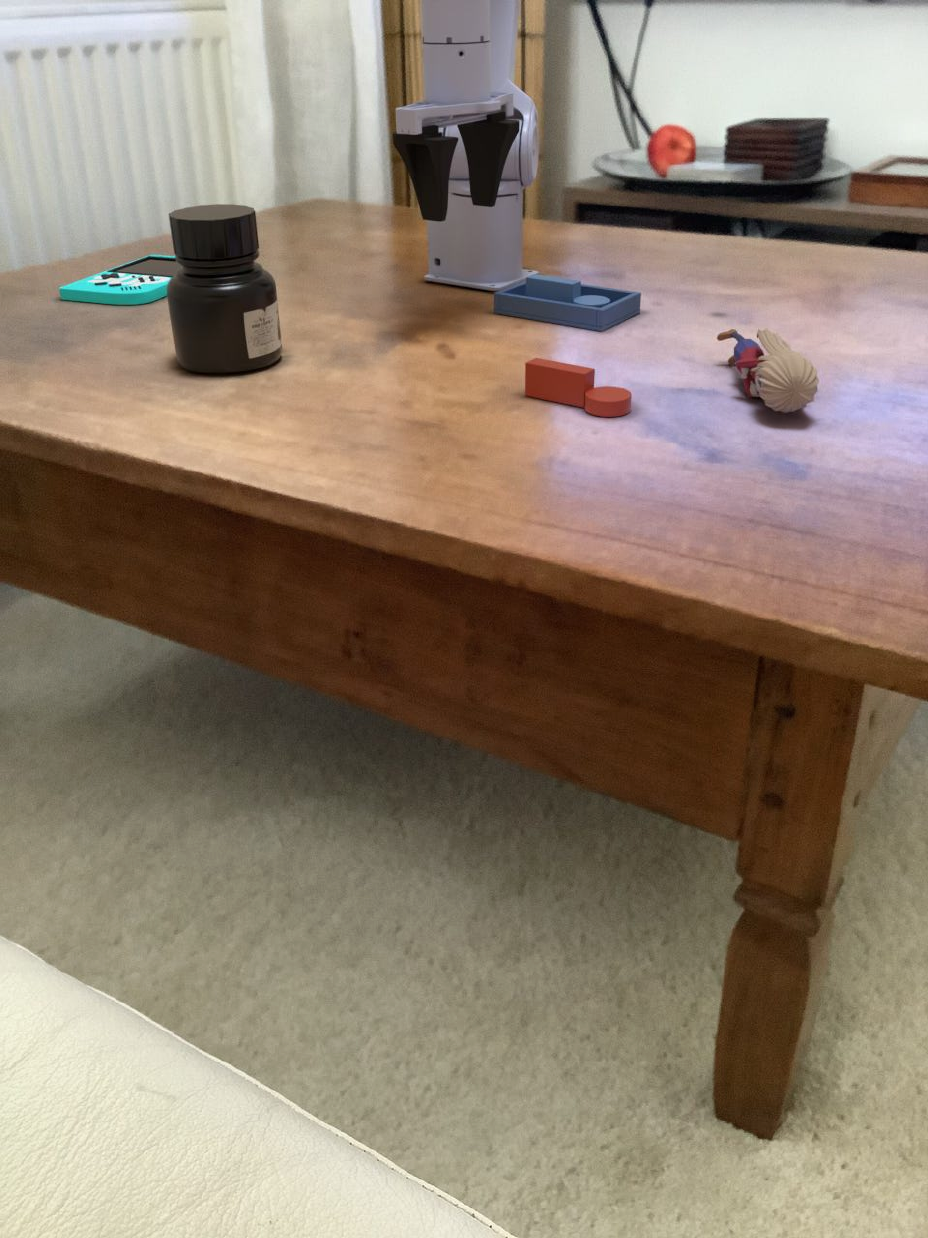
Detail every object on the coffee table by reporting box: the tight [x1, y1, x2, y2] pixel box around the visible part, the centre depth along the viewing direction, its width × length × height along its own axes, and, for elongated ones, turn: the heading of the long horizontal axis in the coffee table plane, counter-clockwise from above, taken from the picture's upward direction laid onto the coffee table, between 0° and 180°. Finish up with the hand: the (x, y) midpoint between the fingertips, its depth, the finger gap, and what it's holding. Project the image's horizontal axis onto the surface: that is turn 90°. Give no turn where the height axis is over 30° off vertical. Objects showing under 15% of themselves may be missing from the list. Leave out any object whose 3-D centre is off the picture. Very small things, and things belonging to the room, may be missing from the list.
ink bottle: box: [166, 203, 283, 374], centre depth 93 cm, size 10×9×12 cm
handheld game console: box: [58, 254, 182, 306], centre depth 119 cm, size 10×16×1 cm, turn 158°
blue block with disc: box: [526, 274, 610, 308], centre depth 105 cm, size 8×3×3 cm, turn 54°
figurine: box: [716, 328, 820, 414], centre depth 85 cm, size 6×4×15 cm
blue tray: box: [493, 281, 642, 332], centre depth 106 cm, size 12×7×2 cm, turn 54°
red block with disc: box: [524, 357, 633, 418], centre depth 84 cm, size 8×3×3 cm, turn 54°
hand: (459, 212), depth 101 cm, fingers open, 7 cm apart
